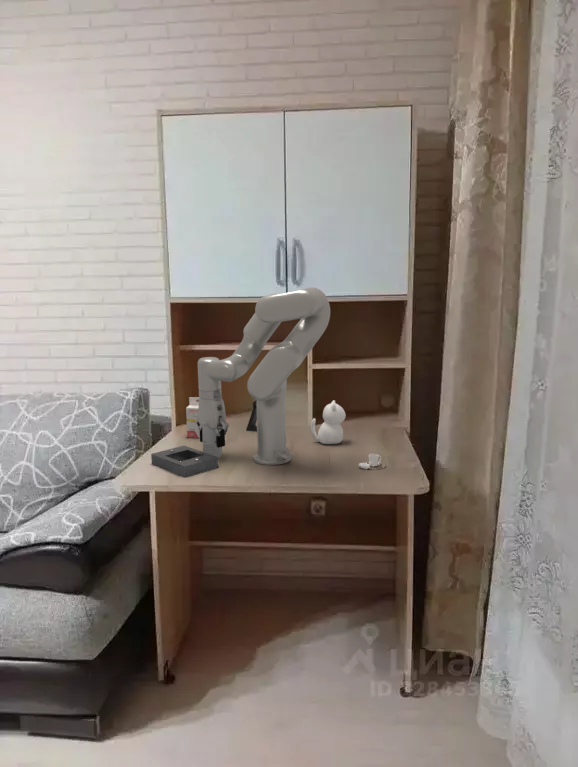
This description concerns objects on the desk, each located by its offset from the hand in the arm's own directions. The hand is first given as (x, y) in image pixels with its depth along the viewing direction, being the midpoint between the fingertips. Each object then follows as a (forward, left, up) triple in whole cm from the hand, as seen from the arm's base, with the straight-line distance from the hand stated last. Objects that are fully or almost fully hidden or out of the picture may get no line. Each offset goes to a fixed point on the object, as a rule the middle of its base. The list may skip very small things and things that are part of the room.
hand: (212, 443), depth 231 cm
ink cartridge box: (+23, -11, -4) cm, 26 cm away
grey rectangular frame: (-2, +13, -4) cm, 14 cm away
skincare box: (0, 0, -4) cm, 4 cm away
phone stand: (+14, -33, -4) cm, 36 cm away
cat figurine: (-18, -38, -4) cm, 42 cm away
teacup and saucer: (-44, -28, -5) cm, 52 cm away
